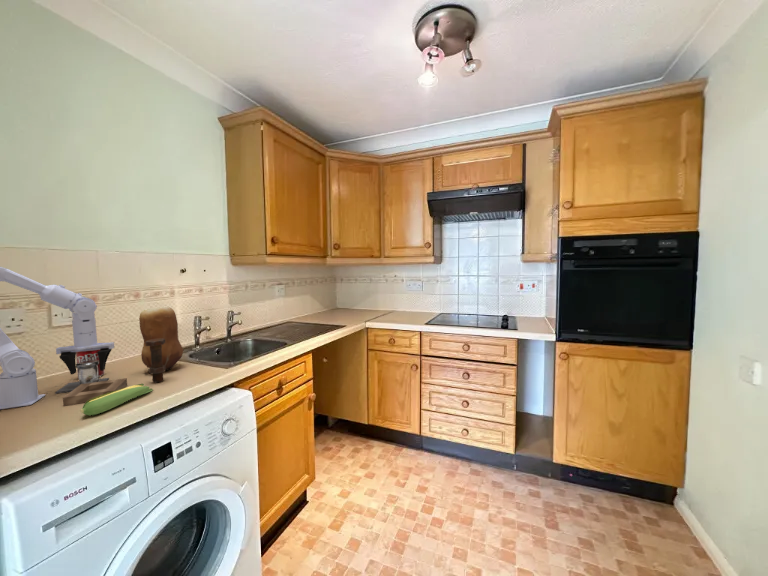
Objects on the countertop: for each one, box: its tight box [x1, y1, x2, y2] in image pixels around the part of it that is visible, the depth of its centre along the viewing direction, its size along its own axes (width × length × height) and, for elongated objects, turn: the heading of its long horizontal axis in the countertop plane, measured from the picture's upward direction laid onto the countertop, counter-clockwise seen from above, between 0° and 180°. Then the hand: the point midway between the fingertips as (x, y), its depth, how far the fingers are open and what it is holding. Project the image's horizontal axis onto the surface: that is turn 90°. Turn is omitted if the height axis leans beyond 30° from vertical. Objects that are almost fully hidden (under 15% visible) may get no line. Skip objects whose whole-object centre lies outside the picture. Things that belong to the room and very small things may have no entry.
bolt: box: [145, 338, 166, 384], centre depth 111 cm, size 6×5×15 cm
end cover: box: [76, 360, 100, 385], centre depth 107 cm, size 6×6×8 cm
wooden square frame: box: [62, 377, 128, 407], centre depth 100 cm, size 12×12×2 cm
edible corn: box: [79, 383, 154, 416], centre depth 93 cm, size 5×20×5 cm, turn 166°
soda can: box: [75, 348, 105, 379], centre depth 117 cm, size 7×7×12 cm
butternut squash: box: [138, 306, 184, 371], centre depth 123 cm, size 14×13×25 cm
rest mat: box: [55, 377, 110, 395], centre depth 108 cm, size 11×9×1 cm
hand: (88, 371), depth 107 cm, fingers open, 7 cm apart
